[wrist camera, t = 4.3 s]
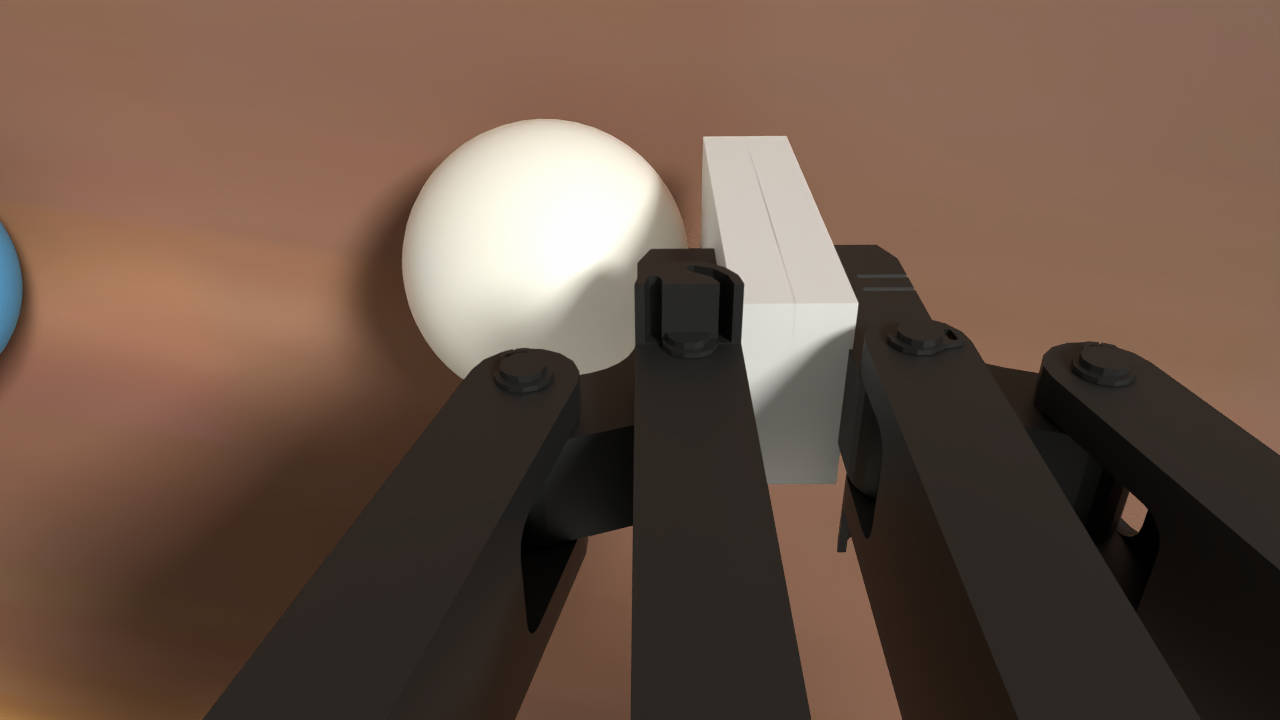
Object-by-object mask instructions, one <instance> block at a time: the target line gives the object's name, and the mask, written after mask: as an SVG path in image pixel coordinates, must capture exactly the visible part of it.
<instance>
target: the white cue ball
mask: <svg viewBox="0 0 1280 720" xmlns="http://www.w3.org/2000/svg"><path fill="white" fill-rule="evenodd" d="M650 249H688V241H687V237H686V232H685V228H684V224H683V220H682V217H681V215H680V212H679V209H678V207H677V204H676V202H675V200H674V199H673V197H672V195H671V193H670V191H669V189H668V188H667V186H666V185H665V183H664V182H663V181H662V179H661V178H660V177H659V175H658V174H657V173H656V171H655V170H654V169H653V168H652V167H651V166H650V165H649V164H648V163H647V161H646V160H645V159H644V158H643V157H642V156H641V155H639V154H638V153H637V152H635V151H634V150H633V149H632V148H630V147H629V146H628V145H627V144H625V143H623V142H622V141H620V140H618V139H617V138H615V137H613V136H612V135H610V134H607V133H605V132H603V131H601V130H598V129H596V128H594V127H590V126H587V125H583V124H580V123H577V122H571V121H565V120H559V119H533V120H523V121H518V122H513V123H509V124H505V125H502V126H499V127H496V128H494V129H491V130H489V131H486V132H484V133H481V134H479V135H478V136H476V137H474V138H472V139H471V140H469V141H467V142H465V143H464V144H463V145H461V146H460V147H459V148H458V149H456V150H455V151H454V152H452V153H451V154H450V155H449V156H448V157H447V158H446V159H445V160H444V161H443V162H442V163H441V164H440V165H439V166H438V167H437V168H436V169H435V170H434V172H433V173H432V174H431V176H430V177H429V179H428V180H427V181H426V183H425V184H424V186H423V188H422V189H421V191H420V193H419V195H418V197H417V199H416V201H415V203H414V205H413V207H412V210H411V213H410V216H409V219H408V222H407V225H406V231H405V236H404V242H403V249H402V272H403V281H404V287H405V292H406V296H407V300H408V304H409V308H410V310H411V313H412V315H413V318H414V320H415V322H416V324H417V326H418V328H419V330H420V331H421V333H422V335H423V337H424V338H425V340H426V342H427V343H428V344H429V346H430V347H431V348H432V350H433V351H434V353H435V354H436V355H437V356H438V357H439V358H440V359H441V361H442V362H443V363H444V364H445V365H446V366H447V367H448V368H449V369H451V370H452V371H453V372H454V373H455V374H457V375H458V376H459V377H460V378H462V379H463V380H464V379H465V378H466V376H467V375H468V374H469V372H470V371H471V370H472V369H473V368H474V367H475V366H476V365H478V364H479V363H480V362H481V361H482V360H484V359H486V358H489V357H491V356H493V355H496V354H498V353H500V352H503V351H507V350H511V349H513V350H516V349H518V348H529V349H545V350H549V351H553V352H557V353H561V354H562V355H564V356H566V357H567V358H569V359H571V360H572V361H574V363H575V365H576V366H577V368H578V370H579V373H580V375H582V374H587V373H592V372H596V371H599V370H603V369H607V368H609V367H611V366H613V365H616V364H618V363H620V362H621V361H622V360H624V359H625V358H627V357H628V356H629V355H630V354H631V352H632V351H633V350H634V348H635V299H634V284H635V282H636V280H637V263H638V262H639V261H640V260H641V259H642V258H643V256H644V255H645V254H646V253H647V252H648V251H649V250H650Z"/></svg>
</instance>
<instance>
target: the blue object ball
mask: <svg viewBox="0 0 1280 720" xmlns="http://www.w3.org/2000/svg"><path fill="white" fill-rule="evenodd" d="M22 295H23V283H22V273H21V268H20V263H19V259H18V256H17V253H16V249H15V247H14V245H13V243H12V241H11V238H10V236H9V234H8V233H7V231H6V230H5V228H4V226H3V225H2V223H1V222H0V354H1V352H2V351H3V350H4V348H5V347H6V345H7V344H8V342H9V340H10V338H11V336H12V334H13V332H14V329H15V327H16V325H17V321H18V318H19V315H20V310H21V304H22Z"/></svg>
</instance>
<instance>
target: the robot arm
mask: <svg viewBox="0 0 1280 720" xmlns="http://www.w3.org/2000/svg"><path fill="white" fill-rule="evenodd" d="M913 288H914V287H913V285H912V284H911V282H910V280H909V278H908V277H906V273H905V271H904V269H903V268H902V266H901V264H900V262H899V260H898V259H897V258H896V257H894V256H893V255H891V254H890V253H888V252H887V251H885V250H884V249H882V248H881V247H879V246H877V245H833V243H832V241H831V238H830V236H829V234H828V231H827V229H826V227H825V224H824V222H823V220H822V217H821V215H820V213H819V210H818V208H817V206H816V203H815V201H814V199H813V197H812V194H811V192H810V190H809V187H808V185H807V183H806V180H805V178H804V176H803V173H802V171H801V169H800V166H799V164H798V162H797V159H796V157H795V155H794V152H793V150H792V148H791V146H790V143H789V141H788V139H787V136H721V137H703V165H702V203H701V240H700V248H691V249H650V250H649V251H648V252H647V253H646V254H645V255H644V256H643V258H642V259H641V260H640V261H639V262H638V263H637V280H636V282H635V284H634V299H635V348H634V350H633V351H632V352H631V354H630V355H629V356H628V357H627V358H625V359H624V360H622V361H621V362H620V363H618V364H616V365H613V366H611V367H609V368H607V369H603V370H599V371H596V372H592V373H587V374H582V375H580V373H579V370H578V368H577V366H576V365H575V363H574V361H572V360H571V359H569V358H567V357H566V356H564V355H562V354H561V353H557V352H553V351H549V350H545V349H529V348H518V349H516V350H513V349H511V350H507V351H503V352H500V353H498V354H496V355H493V356H491V357H489V358H486V359H484V360H482V361H481V362H480V363H479V364H478V365H476V366H475V367H474V368H473V369H472V370H471V371H470V372H469V374H468V375H467V376H466V378H465V379H464V380H463V381H462V383H461V384H460V385H459V387H458V388H457V389H456V391H455V392H454V393H453V394H452V396H451V397H450V398H449V400H448V401H447V402H446V404H445V405H444V406H443V407H442V409H441V410H440V411H439V413H438V414H437V415H436V417H435V418H434V419H433V420H432V422H431V423H430V424H429V426H428V427H427V428H426V430H425V431H424V432H423V433H422V435H421V436H420V437H419V439H418V440H417V441H416V443H415V444H414V445H413V446H412V448H411V449H410V450H409V452H408V453H407V454H406V456H405V457H404V458H403V459H402V461H401V462H400V463H399V465H398V466H397V467H396V469H395V470H394V471H393V472H392V474H391V475H390V476H389V478H388V479H387V480H386V482H385V483H384V484H383V485H382V487H381V488H380V489H379V491H378V492H377V493H376V495H375V496H374V497H373V498H372V500H371V501H370V502H369V504H368V505H367V506H366V508H365V509H364V510H363V511H362V513H361V514H360V515H359V517H358V518H357V519H356V521H355V522H354V523H353V524H352V526H351V527H350V528H349V530H348V531H347V532H346V534H345V535H344V536H343V537H342V539H341V540H340V541H339V543H338V544H337V545H336V547H335V548H334V549H333V551H332V552H331V553H330V554H329V556H328V557H327V558H326V560H325V561H324V562H323V564H322V565H321V566H320V567H319V569H318V570H317V571H316V573H315V574H314V575H313V577H312V578H311V579H310V580H309V582H308V583H307V584H306V586H305V587H304V588H303V590H302V591H301V592H300V593H299V595H298V596H297V597H296V599H295V600H294V601H293V603H292V604H291V605H290V606H289V608H288V609H287V610H286V612H285V613H284V614H283V616H282V617H281V618H280V619H279V621H278V622H277V623H276V625H275V626H274V627H273V629H272V630H271V631H270V632H269V634H268V635H267V636H266V638H265V639H264V640H263V642H262V643H261V644H260V645H259V647H258V648H257V649H256V651H255V652H254V653H253V655H252V656H251V657H250V658H249V660H248V661H247V662H246V664H245V665H244V666H243V668H242V669H241V670H240V671H239V673H238V674H237V675H236V677H235V678H234V679H233V681H232V682H231V683H230V684H229V686H228V687H227V688H226V690H225V691H224V692H223V694H222V695H221V696H220V697H219V699H218V700H217V701H216V703H215V704H214V705H213V707H212V708H211V709H210V710H209V712H208V713H207V714H206V716H205V717H204V718H203V720H515V718H516V716H517V714H518V711H519V709H520V707H521V704H522V702H523V699H524V697H525V695H526V692H527V690H528V688H529V685H530V683H531V681H532V678H533V676H534V674H535V671H536V669H537V667H538V664H539V662H540V660H541V657H542V655H543V653H544V650H545V648H546V646H547V643H548V641H549V639H550V636H551V634H552V632H553V629H554V627H555V625H556V622H557V620H558V618H559V615H560V613H561V611H562V608H563V606H564V604H565V601H566V599H567V597H568V594H569V592H570V590H571V587H572V585H573V583H574V580H575V578H576V576H577V573H578V571H579V569H580V566H581V564H582V562H583V559H584V557H585V555H586V549H587V542H588V536H592V535H596V534H600V533H604V532H608V531H612V530H616V529H620V528H624V527H628V526H633V571H632V658H631V720H811V715H810V710H809V705H808V699H807V694H806V689H805V683H804V678H803V673H802V667H801V662H800V656H799V651H798V646H797V640H796V635H795V630H794V624H793V619H792V613H791V608H790V603H789V597H788V592H787V587H786V581H785V576H784V570H783V565H782V560H781V554H780V549H779V544H778V538H777V533H776V528H775V522H774V517H773V511H772V506H771V501H770V495H769V490H768V485H767V484H836V480H837V472H838V464H839V456H840V452H841V455H842V459H843V462H844V465H845V468H846V472H847V473H846V481H845V489H844V496H843V504H842V511H841V519H840V527H839V534H838V546H837V552H846V547H847V540H848V539H849V538H850V537H852V541H853V544H854V548H855V552H856V555H857V559H858V562H859V566H860V569H861V573H862V577H863V580H864V584H865V587H866V591H867V594H868V598H869V602H870V605H871V609H872V612H873V616H874V620H875V623H876V627H877V630H878V634H879V637H880V641H881V645H882V648H883V652H884V655H885V659H886V662H887V666H888V670H889V673H890V677H891V680H892V684H893V688H894V691H895V695H896V698H897V702H898V705H899V709H900V713H901V716H902V720H1280V455H1279V454H1277V453H1276V452H1274V451H1273V450H1272V449H1270V448H1269V447H1267V446H1266V445H1265V444H1263V443H1262V442H1260V441H1259V440H1258V439H1256V438H1255V437H1254V436H1252V435H1251V434H1249V433H1248V432H1247V431H1245V430H1244V429H1242V428H1241V427H1240V426H1238V425H1237V424H1236V423H1234V422H1233V421H1231V420H1230V419H1229V418H1227V417H1226V416H1224V415H1223V414H1222V413H1220V412H1219V411H1217V410H1216V409H1215V408H1213V407H1212V406H1211V405H1209V404H1208V403H1206V402H1205V401H1204V400H1202V399H1201V398H1199V397H1198V396H1197V395H1195V394H1194V393H1192V392H1191V391H1190V390H1188V389H1187V388H1186V387H1184V386H1183V385H1181V384H1180V383H1179V382H1177V381H1176V380H1174V379H1173V378H1172V377H1170V376H1169V375H1168V374H1166V373H1165V372H1163V371H1162V370H1161V369H1159V368H1158V367H1156V366H1155V365H1154V364H1152V363H1151V362H1149V361H1147V360H1145V359H1143V358H1142V357H1140V356H1138V355H1136V354H1134V353H1132V352H1129V351H1126V350H1123V349H1120V348H1117V347H1116V346H1114V345H1111V344H1106V343H1101V344H1099V342H1089V341H1088V342H1080V343H1065V344H1062V345H1058V346H1055V347H1052V348H1051V349H1050V350H1049V351H1047V352H1046V353H1045V354H1044V355H1043V359H1042V363H1041V367H1040V371H1039V373H1034V372H1028V371H1022V370H1016V369H1010V368H1003V367H999V366H994V365H990V364H986V363H984V361H983V359H982V358H981V356H980V354H979V353H978V351H977V349H976V348H975V346H974V344H973V343H972V341H971V340H970V339H969V338H968V337H967V336H966V335H965V334H964V333H963V332H961V331H959V330H957V329H955V328H953V327H951V326H949V325H947V324H945V323H941V322H938V321H934V320H932V319H931V317H930V316H929V314H928V312H927V310H926V309H925V307H924V305H923V303H922V301H921V300H920V298H919V296H918V294H917V292H916V291H915V290H913ZM1129 491H1130V492H1131V493H1132V494H1133V495H1134V496H1135V497H1136V498H1137V499H1138V500H1140V501H1141V502H1142V503H1143V504H1144V505H1145V506H1146V508H1147V509H1148V512H1147V515H1146V517H1145V520H1144V523H1143V526H1142V528H1141V529H1140V531H1139V533H1138V532H1137V531H1136V530H1134V529H1133V528H1131V527H1130V526H1129V525H1128V524H1127V523H1126V522H1125V521H1124V520H1123V519H1122V518H1121V516H1122V513H1123V510H1124V507H1125V504H1126V501H1127V498H1128V494H1129Z"/></svg>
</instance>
